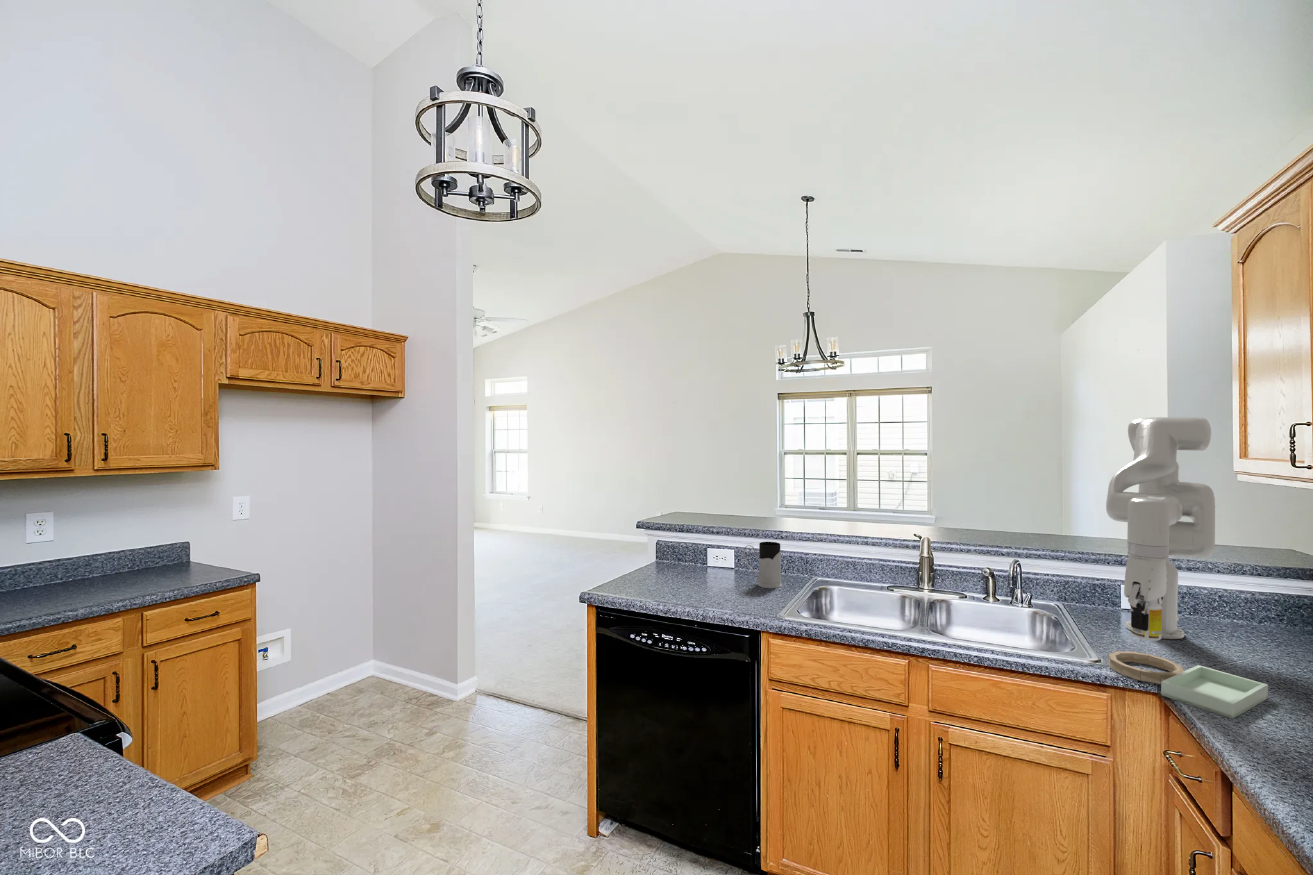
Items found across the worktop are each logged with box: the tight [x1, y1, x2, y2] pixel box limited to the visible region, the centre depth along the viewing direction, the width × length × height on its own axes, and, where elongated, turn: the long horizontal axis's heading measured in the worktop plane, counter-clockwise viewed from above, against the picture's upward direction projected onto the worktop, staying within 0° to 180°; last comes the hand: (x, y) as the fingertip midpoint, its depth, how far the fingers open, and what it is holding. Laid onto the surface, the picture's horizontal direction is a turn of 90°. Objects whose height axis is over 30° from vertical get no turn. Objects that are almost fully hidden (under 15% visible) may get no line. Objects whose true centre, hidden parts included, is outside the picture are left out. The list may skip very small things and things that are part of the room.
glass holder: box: [743, 541, 783, 589], centre depth 216 cm, size 9×14×15 cm, turn 64°
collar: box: [1108, 650, 1185, 685], centre depth 140 cm, size 13×13×2 cm
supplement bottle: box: [1130, 596, 1162, 642], centre depth 140 cm, size 6×6×10 cm
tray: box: [1160, 664, 1269, 720], centre depth 127 cm, size 18×12×3 cm, turn 119°
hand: (1146, 625), depth 140 cm, fingers closed on supplement bottle, 5 cm apart
